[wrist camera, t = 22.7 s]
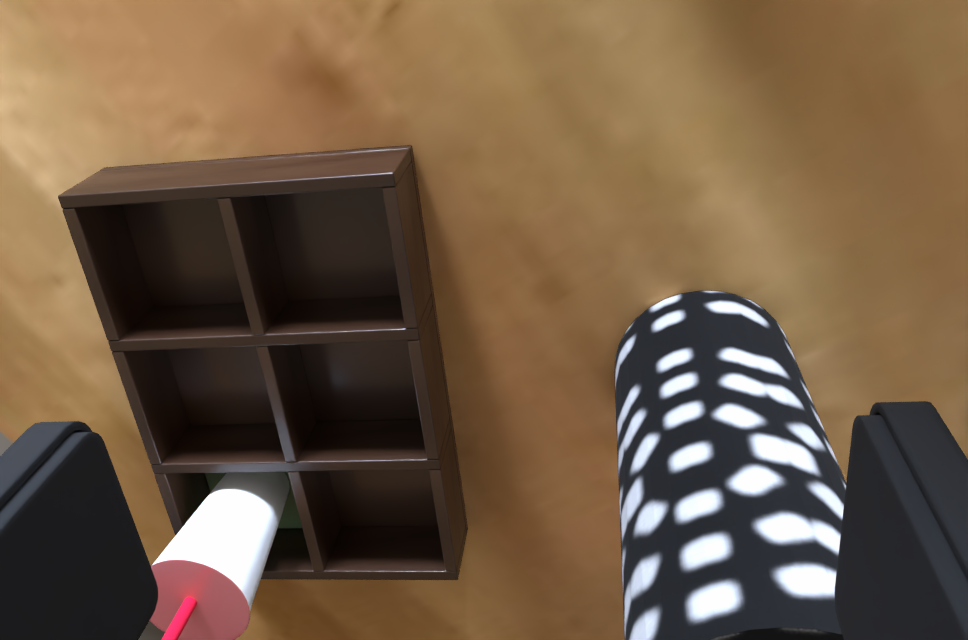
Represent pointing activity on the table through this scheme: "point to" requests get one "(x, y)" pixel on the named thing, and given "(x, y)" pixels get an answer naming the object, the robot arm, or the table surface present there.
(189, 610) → the cup
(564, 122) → the table surface
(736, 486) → the white-spotted black cylinder
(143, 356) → the tray
